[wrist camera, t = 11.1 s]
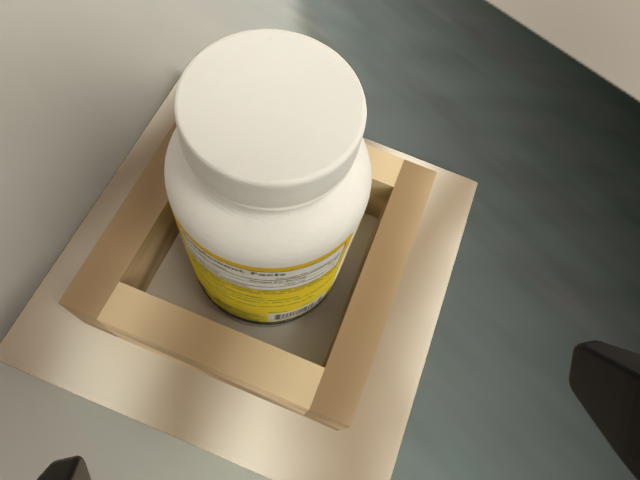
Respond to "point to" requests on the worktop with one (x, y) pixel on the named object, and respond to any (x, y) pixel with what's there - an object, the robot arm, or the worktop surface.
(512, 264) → the worktop surface
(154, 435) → the worktop surface
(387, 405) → the socket
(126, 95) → the worktop surface
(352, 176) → the pill bottle
